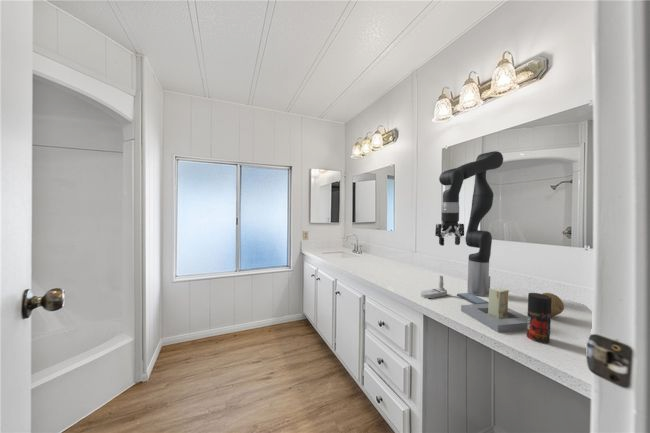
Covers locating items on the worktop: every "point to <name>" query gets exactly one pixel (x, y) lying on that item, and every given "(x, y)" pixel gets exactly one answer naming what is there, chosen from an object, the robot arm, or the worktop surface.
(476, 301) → the plate
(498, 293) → the skincare box
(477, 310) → the plate
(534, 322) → the deodorant
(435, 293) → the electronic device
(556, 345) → the worktop surface
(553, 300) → the natural sponge
